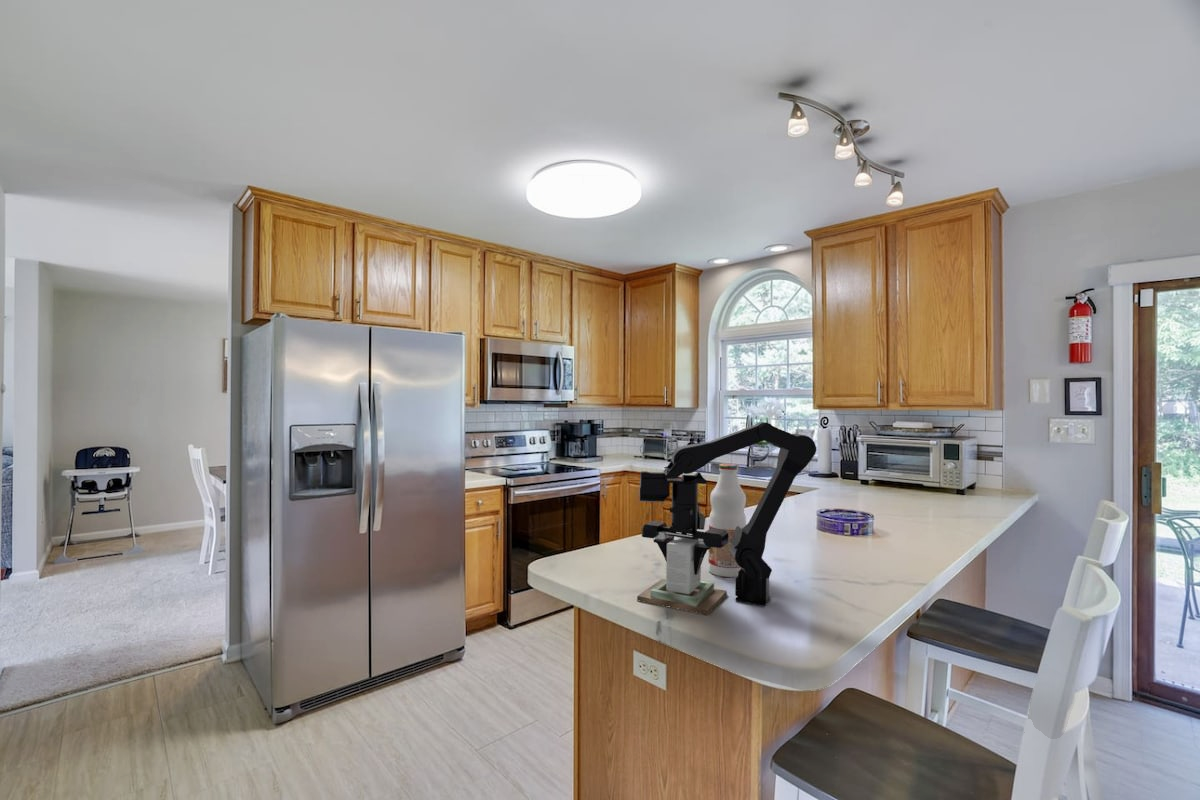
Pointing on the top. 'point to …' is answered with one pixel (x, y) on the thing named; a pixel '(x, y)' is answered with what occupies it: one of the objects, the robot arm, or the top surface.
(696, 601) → the board
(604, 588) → the top surface
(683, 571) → the small box
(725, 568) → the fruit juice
